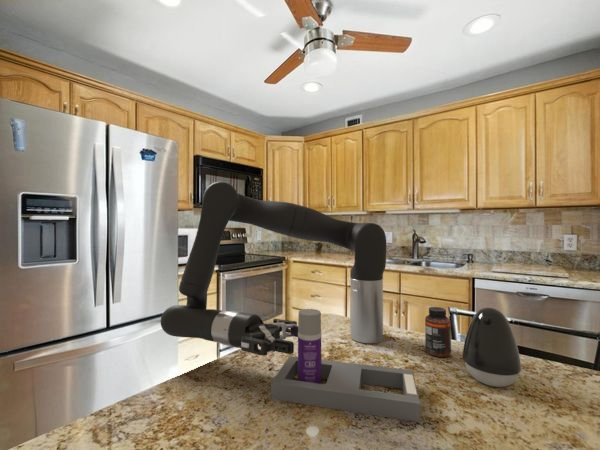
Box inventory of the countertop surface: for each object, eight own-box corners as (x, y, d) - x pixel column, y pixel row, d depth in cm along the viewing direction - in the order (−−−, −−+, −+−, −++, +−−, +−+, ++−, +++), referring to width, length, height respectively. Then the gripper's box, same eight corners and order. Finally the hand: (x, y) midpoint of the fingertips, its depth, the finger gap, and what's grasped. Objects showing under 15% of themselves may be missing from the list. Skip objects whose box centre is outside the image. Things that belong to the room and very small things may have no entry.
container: (304, 395, 57) (304, 316, 57) (293, 384, 61) (293, 310, 61) (325, 389, 59) (325, 313, 59) (313, 378, 63) (313, 307, 63)
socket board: (289, 369, 67) (289, 355, 67) (412, 384, 61) (412, 369, 61) (270, 398, 56) (270, 381, 56) (420, 422, 49) (420, 402, 49)
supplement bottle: (445, 348, 79) (445, 305, 79) (455, 358, 73) (454, 312, 73) (422, 347, 79) (422, 305, 79) (429, 357, 73) (429, 311, 73)
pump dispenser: (456, 381, 62) (456, 308, 62) (469, 364, 70) (469, 299, 70) (516, 401, 55) (516, 318, 55) (524, 379, 63) (523, 307, 63)
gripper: (215, 321, 61) (286, 333, 54) (254, 305, 74) (315, 312, 67) (216, 358, 61) (286, 374, 54) (254, 335, 74) (315, 346, 67)
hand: (302, 340), depth 61 cm, fingers open, 8 cm apart
